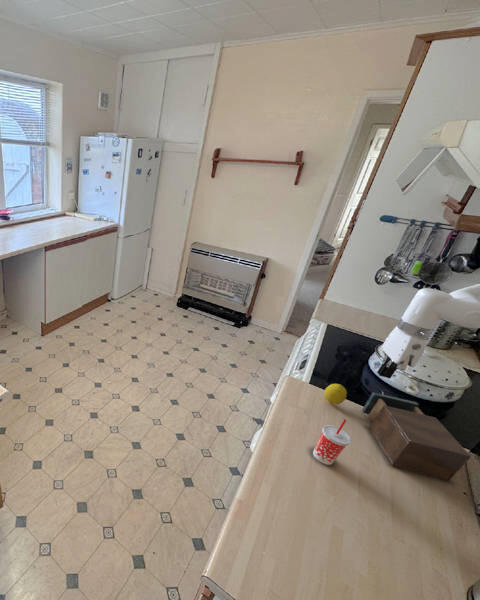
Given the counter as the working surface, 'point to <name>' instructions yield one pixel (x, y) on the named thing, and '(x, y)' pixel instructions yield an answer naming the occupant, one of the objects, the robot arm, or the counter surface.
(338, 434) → the beverage cup
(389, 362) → the robot arm
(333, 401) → the lemon
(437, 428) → the cabinet
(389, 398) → the drawer
